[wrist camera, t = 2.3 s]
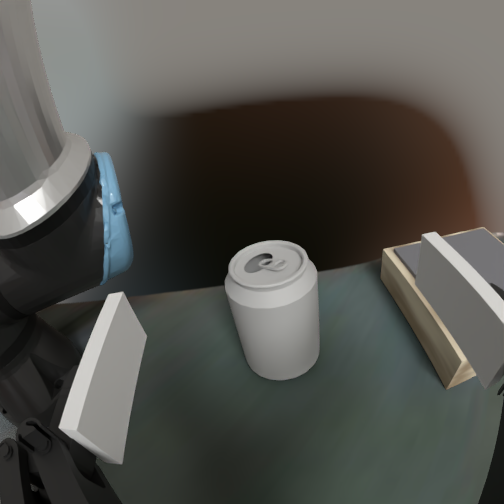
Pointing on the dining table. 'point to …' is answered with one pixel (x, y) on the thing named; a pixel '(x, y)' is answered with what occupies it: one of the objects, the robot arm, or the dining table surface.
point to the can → (275, 308)
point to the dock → (420, 311)
